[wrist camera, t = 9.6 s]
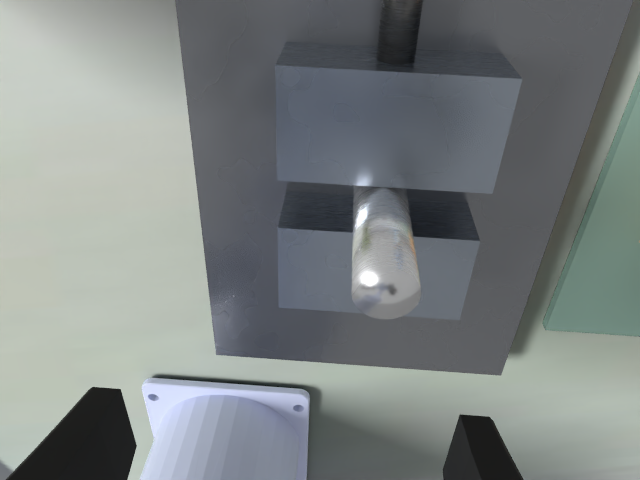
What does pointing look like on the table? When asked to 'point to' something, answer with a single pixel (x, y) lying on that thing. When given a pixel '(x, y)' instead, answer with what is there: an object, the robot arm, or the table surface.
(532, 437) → the table surface
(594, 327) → the mat
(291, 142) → the vise
